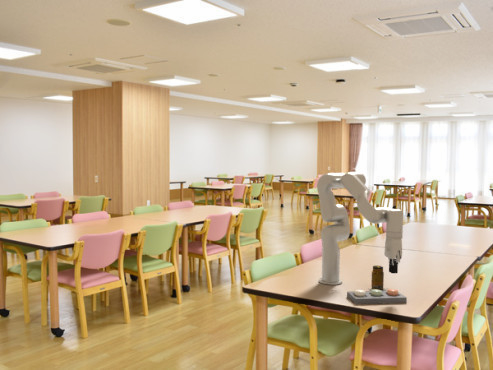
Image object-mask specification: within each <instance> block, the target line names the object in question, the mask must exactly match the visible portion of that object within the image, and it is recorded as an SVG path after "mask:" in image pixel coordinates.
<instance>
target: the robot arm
mask: <svg viewBox="0 0 493 370" xmlns="http://www.w3.org/2000/svg"><path fill="white" fill-rule="evenodd" d="M366 181H367V179H366V176H365V174H363V173H362V172H359V171H358V172H357V171H349V172H336V173H335V172H328V173H324V174H322V175H320V177H318V180H317V182H316V183H317V184H316V190H317V194H318V197H319V207H320V215H321V219H322V221H323V222H325V223H334V224H328V225H325V226H323V228H322V229H321V231H320V238H321V249H322V250H321V254H322V255H321V257H322V258H321V259H322V260H321V277H319V278H318V282H319V283H321V284H324V285H329V286H331V285H332V286H337V285H341V284H342V283H343V280H342V279H341V278H340V272H341V271H340V269H341V267H340V265H341V263H340V261H341V250H340V249H341V248H340V246H339V242H343V241H346V240H348V238H349V237H350V234H351V233H350V231H351V229H350V223H349V214H348V210H347V209H346V207H345V206H344V205H342V204H338V203H336V202H337V201H336V197H335V194H334V192H333V190H332V189H345V190H347V192H348V193H349V194H350V195H351V196H352V197H353V198H354V200H355V201H356V207H357V210H358V211H359V213H360V214H361V216H362V217H364V219H365V220H366V221H368V222H369V223H370V224H383V223H386V228H385V242H384V256H385V257H386V258H387V259H388V272H389V273H390V274H398V271H399V268H398V267H399V263H401V259H402V258H403V257H402V256H403V241H402V240H403V231H404V230H403V225H404V211H403V210H402V209H398V208H397V209H396V208H389V207H387V206H386V207H384V206H383V207H374V206H373V204H371V203H370V201H369V200H368V198H369V196H370V193H371V191H370V189H369V188H368V187H367V186H366Z"/></svg>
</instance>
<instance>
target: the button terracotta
mask: <svg viewBox="0 0 493 370" xmlns="http://www.w3.org/2000/svg"><path fill="white" fill-rule="evenodd" d="M387 289H388V290H387V294H388V295H389V296H398V292H399V290H398V289H395V288H387Z"/></svg>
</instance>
